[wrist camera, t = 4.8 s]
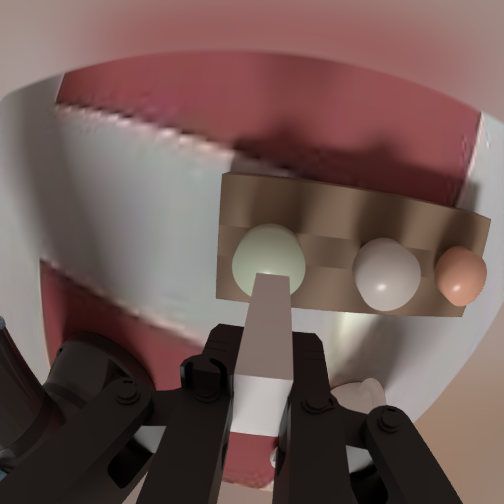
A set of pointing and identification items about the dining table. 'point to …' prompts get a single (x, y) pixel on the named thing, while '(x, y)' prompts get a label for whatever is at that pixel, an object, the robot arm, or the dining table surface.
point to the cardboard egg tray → (343, 237)
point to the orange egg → (460, 275)
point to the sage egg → (268, 256)
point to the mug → (360, 395)
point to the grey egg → (386, 274)
